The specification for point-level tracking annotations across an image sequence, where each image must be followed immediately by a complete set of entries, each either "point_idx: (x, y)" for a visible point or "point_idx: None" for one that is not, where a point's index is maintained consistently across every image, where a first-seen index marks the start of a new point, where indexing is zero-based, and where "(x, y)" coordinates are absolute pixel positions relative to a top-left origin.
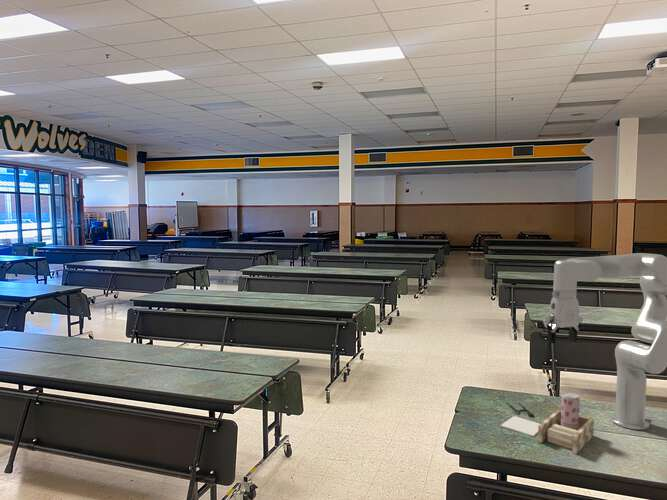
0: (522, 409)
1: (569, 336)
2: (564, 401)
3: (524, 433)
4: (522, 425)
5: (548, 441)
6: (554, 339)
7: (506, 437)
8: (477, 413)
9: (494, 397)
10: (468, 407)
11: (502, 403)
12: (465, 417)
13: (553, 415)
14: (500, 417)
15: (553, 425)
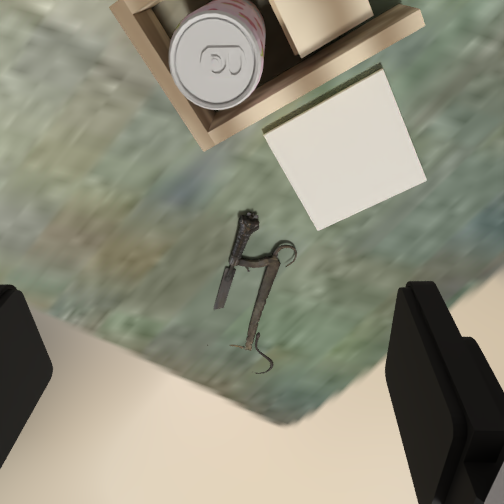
0: (247, 265)
1: (26, 404)
2: (263, 54)
3: (394, 99)
4: (351, 156)
5: None
6: (453, 320)
7: (482, 94)
8: None
9: (265, 358)
10: None
11: (273, 320)
12: (477, 267)
13: (267, 104)
14: (364, 238)
15: (318, 41)
